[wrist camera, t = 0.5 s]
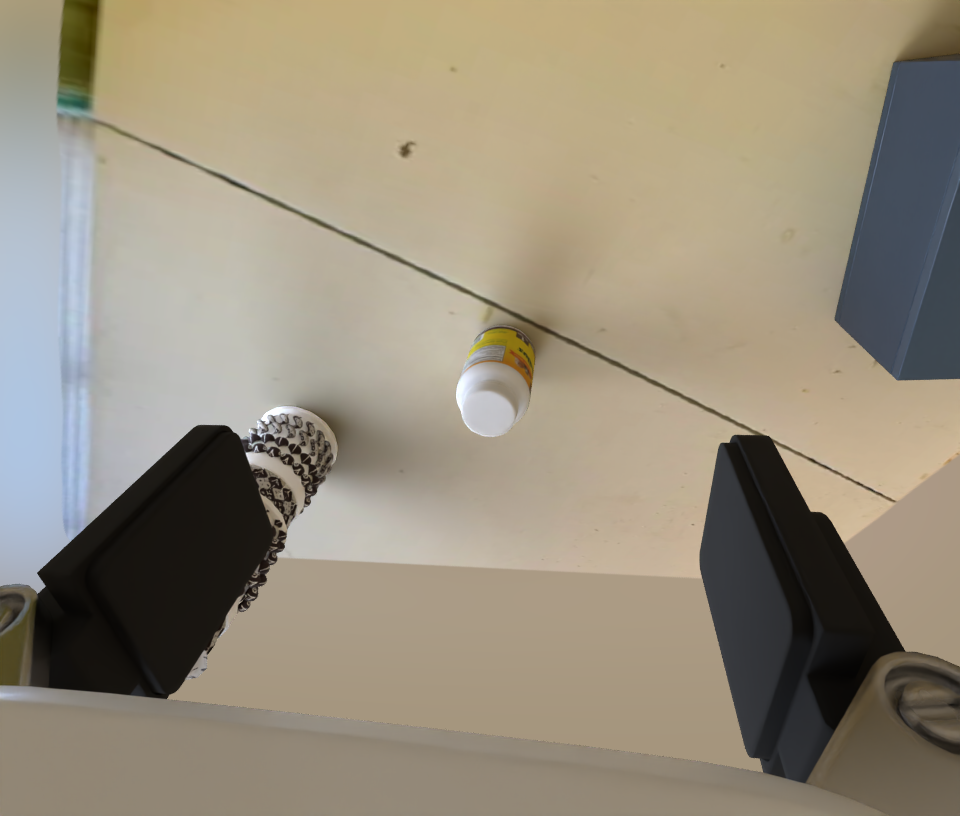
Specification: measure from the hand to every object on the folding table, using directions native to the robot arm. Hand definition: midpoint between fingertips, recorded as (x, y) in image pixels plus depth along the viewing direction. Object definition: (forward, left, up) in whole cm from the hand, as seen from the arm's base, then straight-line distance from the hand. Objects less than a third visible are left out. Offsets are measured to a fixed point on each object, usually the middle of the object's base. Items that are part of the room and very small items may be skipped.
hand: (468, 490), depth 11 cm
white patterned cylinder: (+22, -26, -35) cm, 49 cm away
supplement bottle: (+13, -4, -35) cm, 37 cm away
